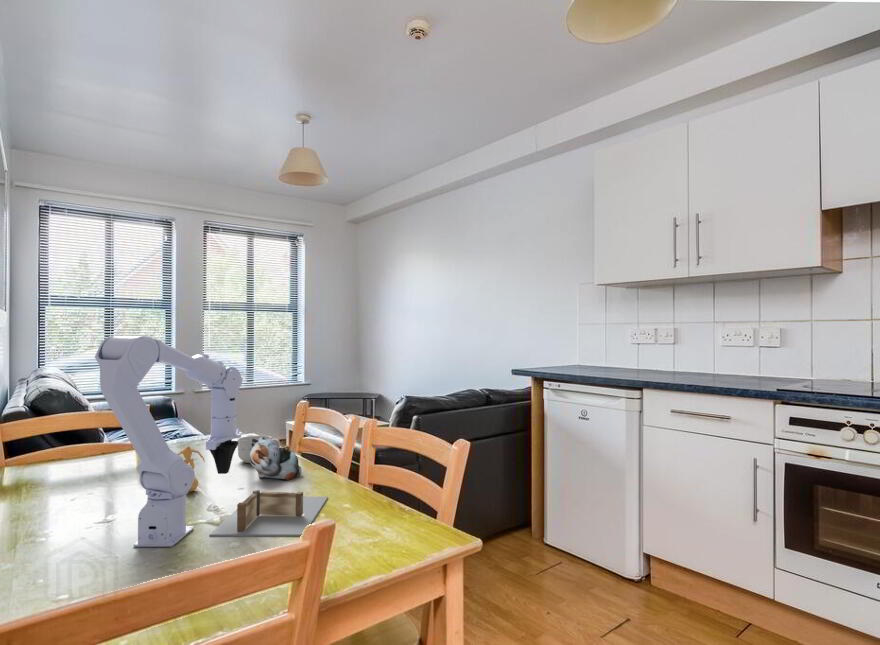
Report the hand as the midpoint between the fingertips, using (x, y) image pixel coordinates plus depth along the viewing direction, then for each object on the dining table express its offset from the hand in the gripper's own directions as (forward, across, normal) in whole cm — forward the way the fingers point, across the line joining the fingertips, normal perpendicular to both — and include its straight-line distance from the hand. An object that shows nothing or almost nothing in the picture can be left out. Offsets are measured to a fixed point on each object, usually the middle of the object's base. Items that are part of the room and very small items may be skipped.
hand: (223, 472), depth 121 cm
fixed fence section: (+9, -7, -9) cm, 15 cm away
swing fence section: (+9, -4, -15) cm, 18 cm away
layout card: (+9, -2, -13) cm, 16 cm away
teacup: (+10, +46, +8) cm, 48 cm away
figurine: (+10, +16, +16) cm, 25 cm away
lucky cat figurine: (+10, +29, -4) cm, 31 cm away
